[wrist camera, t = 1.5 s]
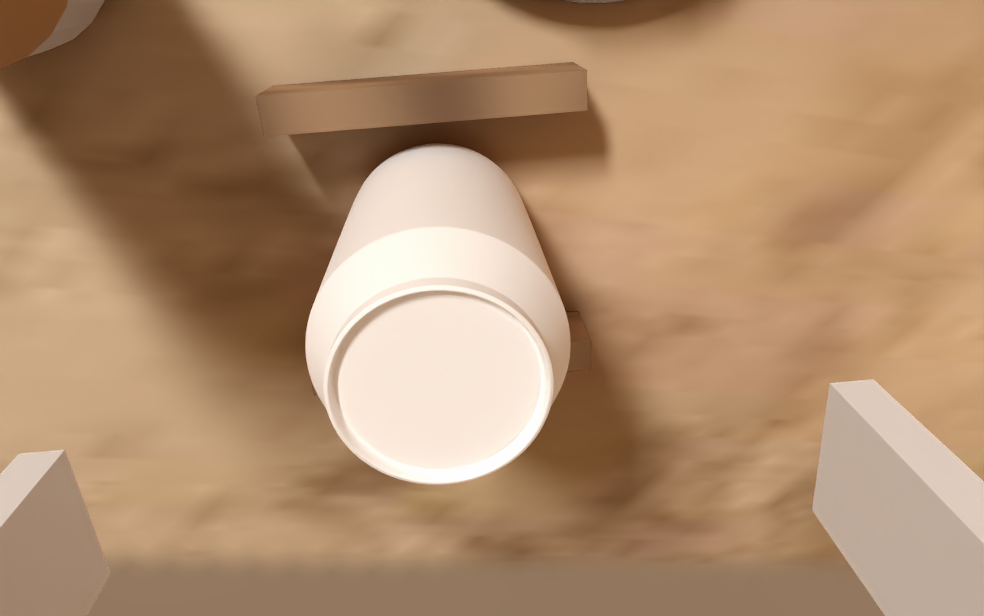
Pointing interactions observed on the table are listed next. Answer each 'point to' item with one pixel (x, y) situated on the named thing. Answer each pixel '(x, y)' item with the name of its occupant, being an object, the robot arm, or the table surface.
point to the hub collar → (593, 1)
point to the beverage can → (438, 321)
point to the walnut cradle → (432, 115)
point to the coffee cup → (41, 25)
